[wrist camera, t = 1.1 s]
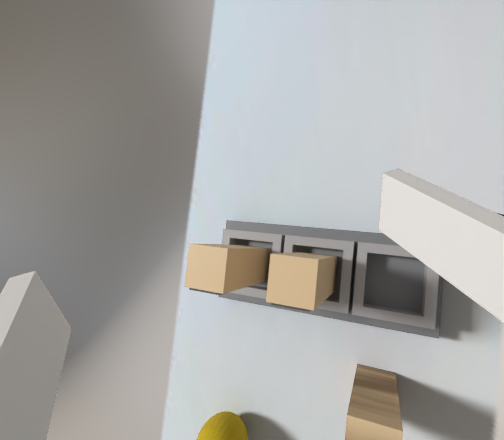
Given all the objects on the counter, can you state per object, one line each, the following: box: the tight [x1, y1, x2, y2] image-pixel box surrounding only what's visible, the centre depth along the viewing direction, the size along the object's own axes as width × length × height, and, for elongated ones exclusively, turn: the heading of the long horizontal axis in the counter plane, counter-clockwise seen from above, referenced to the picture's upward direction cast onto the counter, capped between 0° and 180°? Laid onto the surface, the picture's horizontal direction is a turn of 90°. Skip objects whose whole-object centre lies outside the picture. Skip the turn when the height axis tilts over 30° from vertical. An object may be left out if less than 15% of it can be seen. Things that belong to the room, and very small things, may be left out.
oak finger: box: [345, 364, 403, 440], centre depth 30 cm, size 4×4×12 cm
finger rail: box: [185, 220, 443, 338], centre depth 32 cm, size 10×25×14 cm, turn 84°
